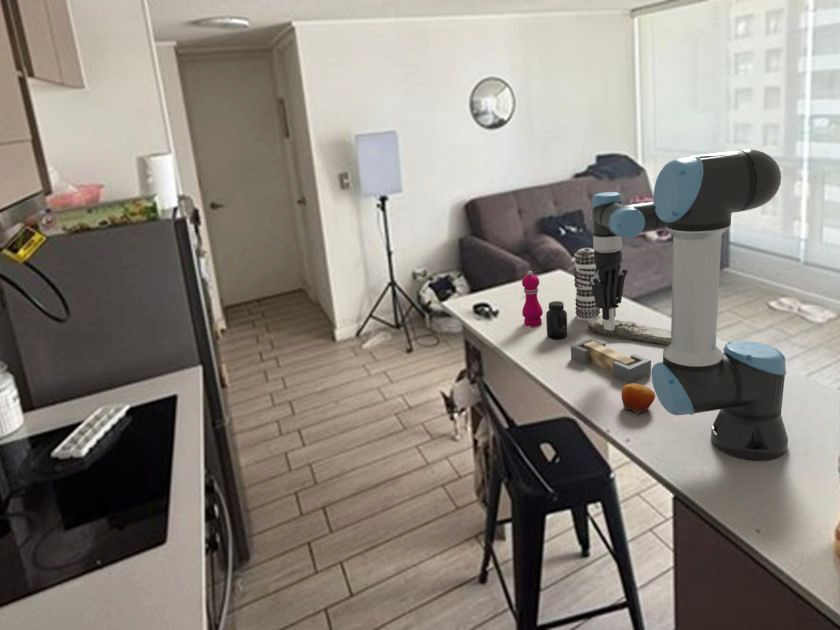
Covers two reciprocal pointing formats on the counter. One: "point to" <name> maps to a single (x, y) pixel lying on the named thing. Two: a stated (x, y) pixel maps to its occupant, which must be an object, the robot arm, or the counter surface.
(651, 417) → the counter surface
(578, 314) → the decorative candle
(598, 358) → the oak slat
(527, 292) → the pepper mill
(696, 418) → the counter surface
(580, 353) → the end caps
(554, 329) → the supplement bottle
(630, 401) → the fruit
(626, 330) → the long grey stone
